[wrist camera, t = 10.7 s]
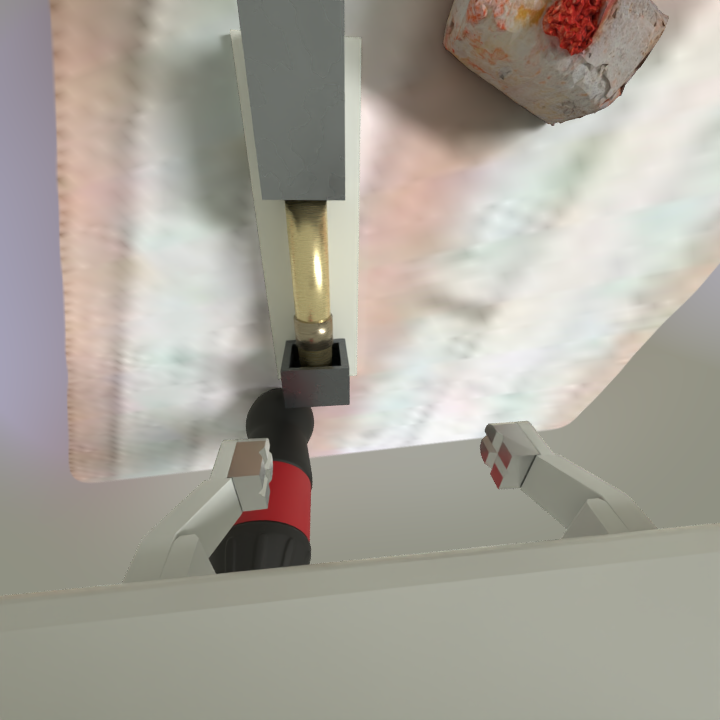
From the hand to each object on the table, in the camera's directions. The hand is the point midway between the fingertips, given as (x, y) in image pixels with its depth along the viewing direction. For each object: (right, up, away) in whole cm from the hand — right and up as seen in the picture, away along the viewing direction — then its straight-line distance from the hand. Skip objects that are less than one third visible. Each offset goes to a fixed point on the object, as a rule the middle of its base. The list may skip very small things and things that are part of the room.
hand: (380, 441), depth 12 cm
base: (-6, +15, +22) cm, 27 cm away
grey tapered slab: (-6, +24, +16) cm, 29 cm away
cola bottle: (-11, -3, +32) cm, 34 cm away
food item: (+12, +30, +15) cm, 36 cm away
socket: (-6, +4, +28) cm, 29 cm away
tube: (-6, +11, +22) cm, 25 cm away
